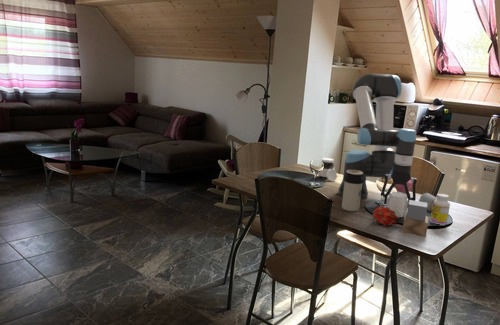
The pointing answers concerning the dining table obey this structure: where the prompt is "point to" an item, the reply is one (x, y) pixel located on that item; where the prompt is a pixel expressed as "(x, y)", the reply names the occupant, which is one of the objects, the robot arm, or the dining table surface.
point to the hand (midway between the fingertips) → (395, 212)
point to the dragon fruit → (385, 216)
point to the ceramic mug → (428, 200)
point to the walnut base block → (415, 226)
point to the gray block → (417, 210)
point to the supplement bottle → (440, 209)
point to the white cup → (397, 203)
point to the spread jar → (328, 170)
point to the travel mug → (352, 190)
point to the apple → (401, 187)
